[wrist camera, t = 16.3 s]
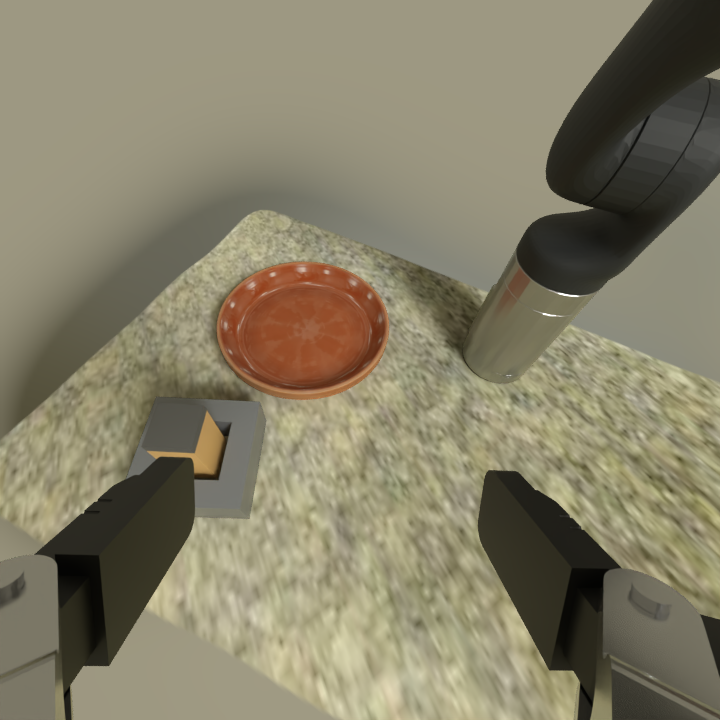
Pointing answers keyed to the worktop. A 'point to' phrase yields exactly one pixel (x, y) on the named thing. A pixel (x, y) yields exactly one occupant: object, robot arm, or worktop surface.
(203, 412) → the plug
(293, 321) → the saucer
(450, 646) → the worktop surface
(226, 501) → the socket block
